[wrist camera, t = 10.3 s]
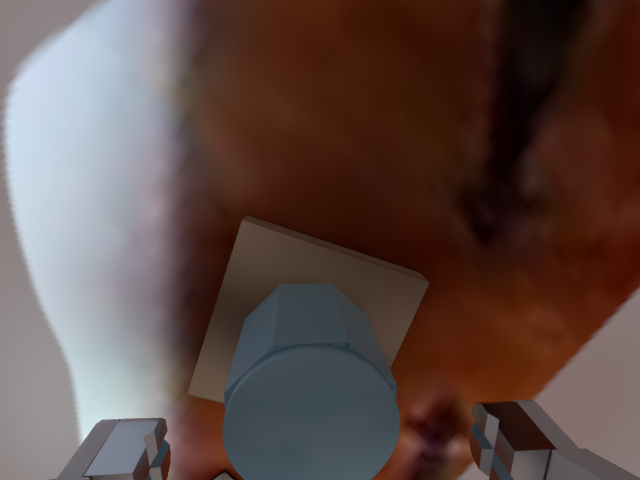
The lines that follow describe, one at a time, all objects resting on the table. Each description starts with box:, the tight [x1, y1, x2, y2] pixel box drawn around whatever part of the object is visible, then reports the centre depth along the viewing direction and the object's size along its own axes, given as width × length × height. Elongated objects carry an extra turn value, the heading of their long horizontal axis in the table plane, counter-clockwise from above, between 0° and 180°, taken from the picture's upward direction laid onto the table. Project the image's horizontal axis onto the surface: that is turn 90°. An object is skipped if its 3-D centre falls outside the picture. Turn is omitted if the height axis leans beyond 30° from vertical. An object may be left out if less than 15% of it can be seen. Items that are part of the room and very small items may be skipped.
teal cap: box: [223, 283, 400, 480], centre depth 12 cm, size 5×5×5 cm
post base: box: [187, 215, 430, 403], centre depth 14 cm, size 8×8×4 cm
